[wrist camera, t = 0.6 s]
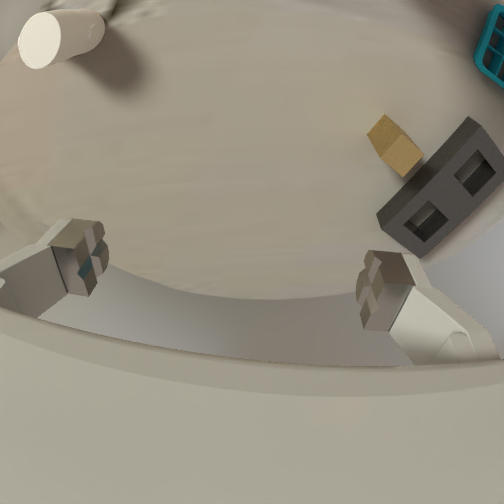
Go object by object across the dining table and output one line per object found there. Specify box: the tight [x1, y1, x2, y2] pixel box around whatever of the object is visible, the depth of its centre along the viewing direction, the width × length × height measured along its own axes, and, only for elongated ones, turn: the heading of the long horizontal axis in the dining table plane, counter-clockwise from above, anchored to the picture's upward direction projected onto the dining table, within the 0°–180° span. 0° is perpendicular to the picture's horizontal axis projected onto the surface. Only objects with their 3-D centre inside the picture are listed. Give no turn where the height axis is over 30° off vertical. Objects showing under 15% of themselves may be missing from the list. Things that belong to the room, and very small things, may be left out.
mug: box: [18, 9, 105, 69], centre depth 28 cm, size 12×9×8 cm
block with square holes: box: [376, 116, 504, 259], centre depth 40 cm, size 22×10×4 cm, turn 149°
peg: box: [367, 114, 424, 177], centre depth 36 cm, size 4×4×8 cm
